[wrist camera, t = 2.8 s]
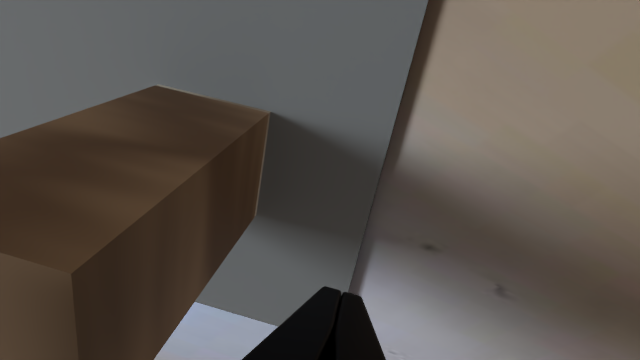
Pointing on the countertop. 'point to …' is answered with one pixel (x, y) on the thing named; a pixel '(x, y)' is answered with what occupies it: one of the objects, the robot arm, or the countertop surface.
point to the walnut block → (121, 220)
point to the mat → (247, 89)
